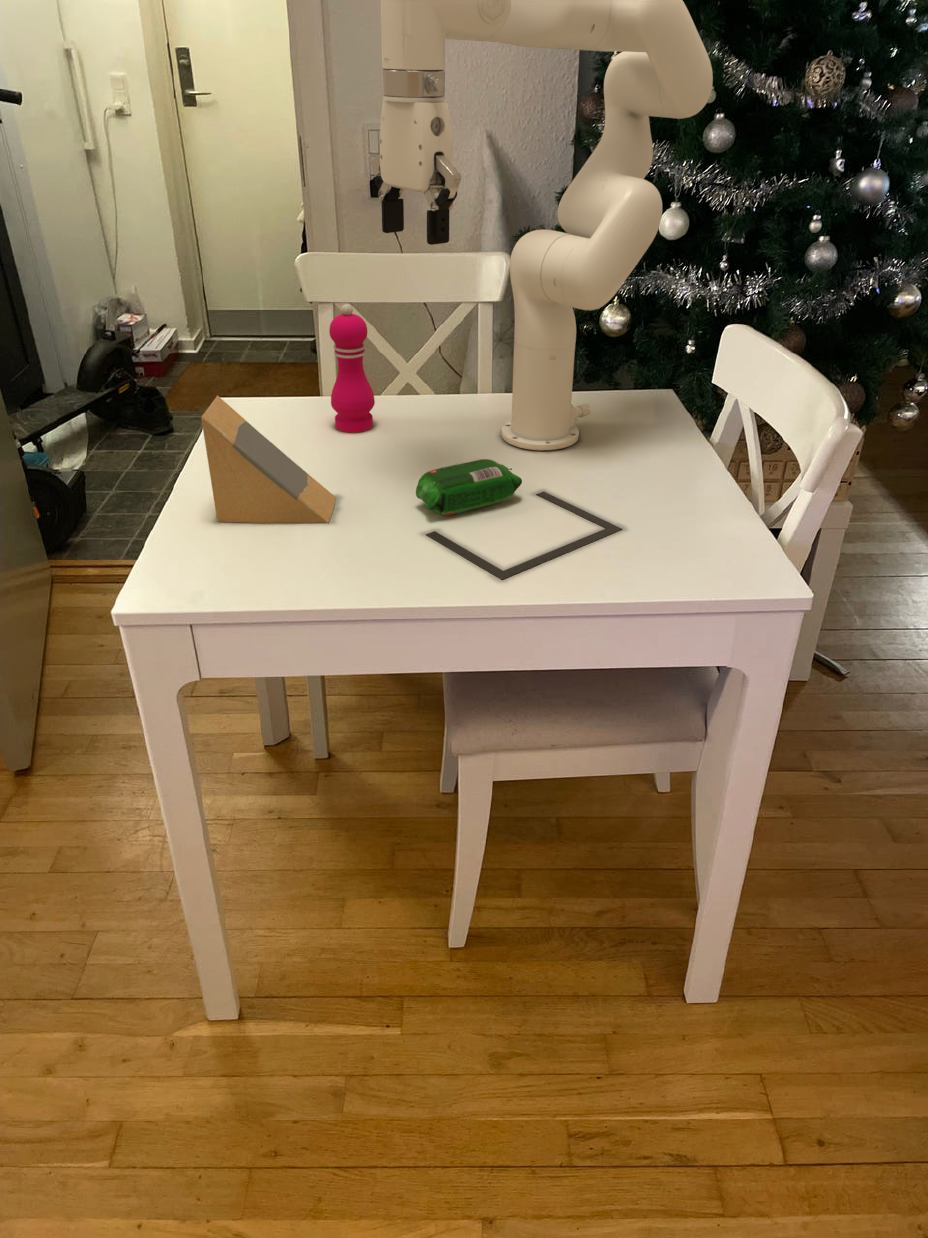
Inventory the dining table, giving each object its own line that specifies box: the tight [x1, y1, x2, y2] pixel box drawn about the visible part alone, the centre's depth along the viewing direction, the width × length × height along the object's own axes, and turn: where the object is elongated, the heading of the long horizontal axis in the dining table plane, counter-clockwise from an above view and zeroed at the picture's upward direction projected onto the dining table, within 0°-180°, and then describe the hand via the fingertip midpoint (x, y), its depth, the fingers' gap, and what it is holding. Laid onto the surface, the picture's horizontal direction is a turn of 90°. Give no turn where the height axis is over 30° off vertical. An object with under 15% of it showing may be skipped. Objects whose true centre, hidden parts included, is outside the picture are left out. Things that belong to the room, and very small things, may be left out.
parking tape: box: [425, 491, 623, 581], centre depth 126 cm, size 22×15×1 cm
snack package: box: [415, 458, 523, 516], centre depth 132 cm, size 7×16×5 cm, turn 118°
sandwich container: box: [201, 394, 336, 524], centre depth 127 cm, size 9×15×15 cm, turn 90°
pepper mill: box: [328, 303, 376, 434], centre depth 153 cm, size 7×7×20 cm
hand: (415, 237), depth 123 cm, fingers open, 9 cm apart
